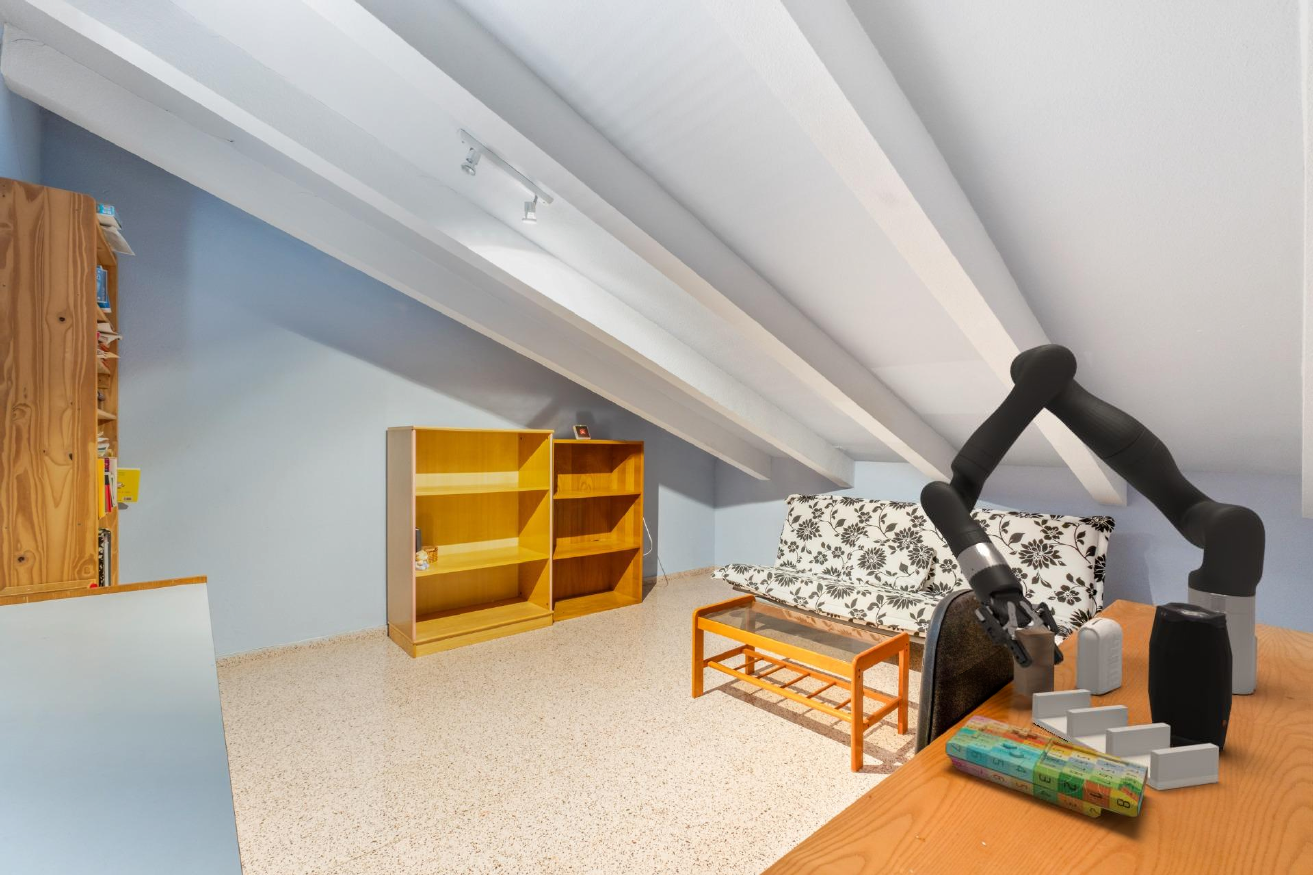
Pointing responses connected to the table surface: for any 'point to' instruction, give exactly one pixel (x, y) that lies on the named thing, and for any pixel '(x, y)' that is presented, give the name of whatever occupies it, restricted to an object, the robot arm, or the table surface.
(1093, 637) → the photo printer
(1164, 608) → the portable speaker
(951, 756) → the puzzle game
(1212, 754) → the slotted rack
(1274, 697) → the table surface
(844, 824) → the table surface
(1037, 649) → the walnut block
